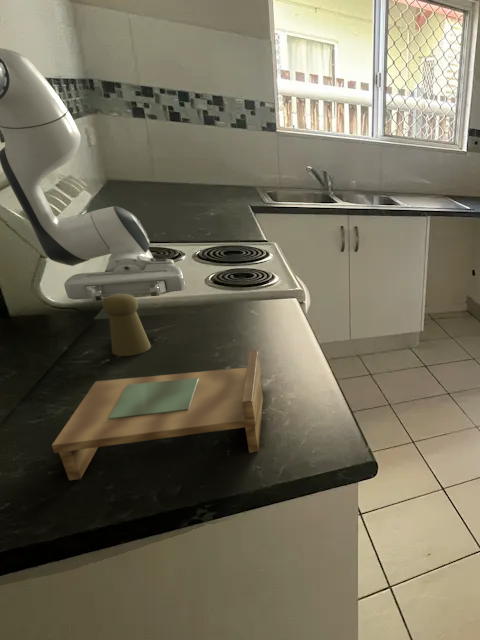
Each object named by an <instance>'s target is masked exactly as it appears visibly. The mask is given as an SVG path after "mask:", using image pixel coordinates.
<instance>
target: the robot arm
mask: <svg viewBox="0 0 480 640" xmlns="http://www.w3.org/2000/svg"><path fill="white" fill-rule="evenodd" d="M0 131H1V134H2V136H3V139H4V147H3V148H1V150H0V165H1V169H2V171H3V173H4V174H5V178H6V179H7V181H8V184H9V185H10V187H11V190H12V191H13V193H14V196H15V197H16V199H17V201H18V204H19V205H20V207H21V208H22V210H23V213H24V214H25V216H26V218H27V220H28V221H29V223H30V225H31V227H32V229H33V232H34V233H35V235H36V238H37V242H38V245H39V246H40V248H41V250H42V252H43V253H44V255H45V256H46V257H47V258H48V259H50V260H51V261H53V262H55V263H58V264H62V265H66V266H71V267H74V266H77V265H79V264H82V263H85V262H88V261H90V260H93V259H96V258H99V257H100V258H101V257H104V256H108V255H110V256H109V258H108V260H107V262H106V263H107V264H106V266H105V270H104V271H96V272H82V273H75V274H73V275H71V276H70V277H68V278H67V279H66V280H65V281H64V284H63V285H64V290H65V293H66V295H67V298H68V299H71V300H85V299H92V301H93V302H98V301H99V302H100V301H103V300H104V298H106V297H108V296H111V295H115V294H129V295H132V296H134V297H135V296H141V295H146V294H150V296H151V297H158V296H160V295H161V294H162V293H168V292H169V293H170V292H171V293H172V292H181V291H184V290H185V289H186V284H185V279H184V276H183V275H184V274H183V271H182V270H181V268H180V267H179V266H178V265H175V262H174V260H173V259H171V258H159V257H157V258H156V257H154V256H153V254H152V252H151V251H150V249H149V247H150V243H151V241H150V238H149V235H148V234H147V230H145V227H144V226H143V224H142V223H141V221H140V220H139V219H138V218H137V215H135V214H134V213H132V212H130V211H128V210H127V209H125V208H122V207H120V206H116V205H114V206H109V207H104V208H99V209H96V210H95V209H94V210H92V211H88V212H85V213H80V214H76V215H71V216H68V217H59V216H56V215H55V214H54V212H53V210H52V208H51V205H50V204H49V202H48V199H47V197H46V195H45V194H44V191H43V189H42V188H41V183H42V181H43V180H44V179H45V177H47V176H48V175H50V174H51V173H53V172H54V171H56V170H57V169H59V168H60V167H62V166H64V165H65V164H67V163H68V162H69V161H70V160H72V159H73V157H74V156H76V154H77V152H78V151H79V148H80V146H81V141H82V136H81V132H80V130H79V128H78V126H77V123H76V122H75V120H74V118H73V116H72V115H71V112H70V111H69V109H68V108H67V106H66V105H65V103H64V102H63V100H62V99H61V97H60V96H59V95H58V93H57V92H56V91H55V89H54V88H53V87H52V85H51V84H50V82H49V81H48V80H47V79H46V77H45V76H44V75H43V74H42V73H41V72H40V70H39V69H38V68H37V67H36V66H35V65H34V64H33V63H32V62H31V61H30V60H29V58H27V57H26V56H25V55H23V54H21V53H20V52H17V51H14V50H12V49H7V48H2V47H1V48H0Z"/></svg>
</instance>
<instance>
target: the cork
mask: <svg viewBox="0 0 480 640" xmlns="http://www.w3.org/2000/svg"><path fill="white" fill-rule="evenodd" d="M101 304H102V305H101V306H102V309H103V311H104V312H105V313H106V314H107V315H108V319H109V320H108V321H109V330H110V342H111V353H112V354H113V355H115V356H117V357H118V356H119V357H129V356H130V357H131V356H136V355H140V354H143V353H146V352H147V351H149V350H150V349H151V348H152V345H151V342H150V340H149V338H148V336H147V333H146V331H145V329H144V326H143V324H142V321H141V319H140V317H139V314H138V308H139V303H138V300H137V298H136V297H135V295H134V296H132V295H129V294H115V295H111V296H108V297H104V298H103V300H102V303H101Z"/></svg>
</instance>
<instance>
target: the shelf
mask: <svg viewBox="0 0 480 640" xmlns="http://www.w3.org/2000/svg"><path fill="white" fill-rule="evenodd" d="M259 354H260V353H259V350H258V349H256V350H249V354H248V360H247V367H238V368H225V369H214V370H204V371H193V372H182V373H172V374H161V375H160V374H159V375H151V376H149V375H148V376H139V377H128V378H119V379H108V380H107V379H106V380H96V381H94V383H93V384H92V386H91V387H90V389H89V390H88V391H87V393H86V395H85V396H84V398H83V399H82V401H81V402H80V404H79V405H78V406H77V408H76V409H75V411H74V412H73V414H72V415H71V417H70V418H69V419H68V420H67V422H66V423H65V425H64V426H63V428H62V430H61V431H60V433H59V434H58V435H57V437H56V438H55V440H54V441H53V442H52V444H51V448H52V450H53V453H54V454H59V456H60V459H61V462H62V465H63V467H64V470H65V473H66V476H67V478H68V481H77V480H81V479H82V477H83V476H84V474H85V472H86V470H87V469H88V466H89V465H90V463H91V462H92V459H93V457H94V456H95V454H96V452H97V450H98V448H101V447H109V446H117V445H124V444H125V445H126V444H133V443H138V442H146V441H147V442H148V441H154V440H155V441H156V440H161V439H168V438H169V439H170V438H177V437H183V436H191V435H198V434H199V435H200V434H205V433H213V432H221V431H227V430H235V429H243V428H244V430H245V435H246V441H247V448H248V453H250V454H252V453H258V452H259V451H260V450H259V449H260V439H261V438H260V437H261V425H262V412H263V402H264V401H263V400H264V397H263V390H262V382H261V375H262V369H261V362H260V356H259Z"/></svg>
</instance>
